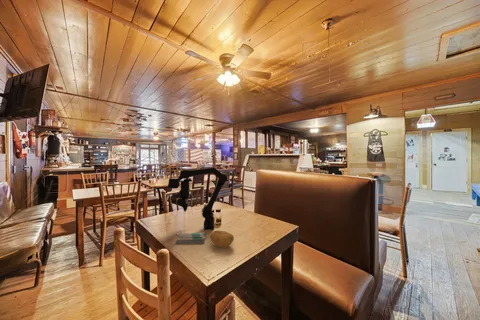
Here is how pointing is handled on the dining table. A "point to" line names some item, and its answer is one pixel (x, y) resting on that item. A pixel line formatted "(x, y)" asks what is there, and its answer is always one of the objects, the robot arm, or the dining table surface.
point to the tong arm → (190, 234)
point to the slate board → (191, 240)
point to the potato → (221, 238)
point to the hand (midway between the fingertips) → (185, 211)
